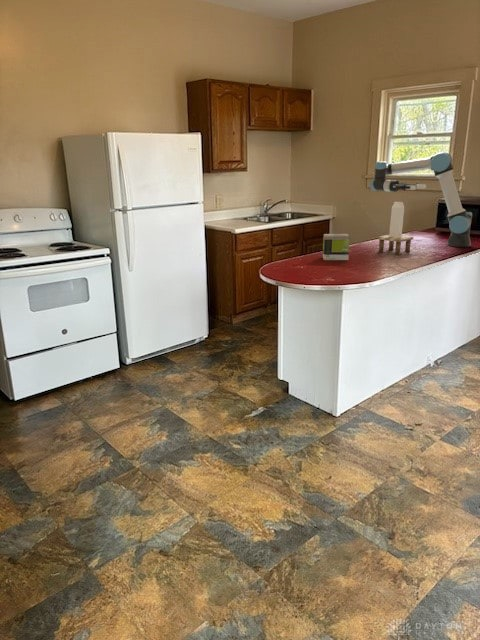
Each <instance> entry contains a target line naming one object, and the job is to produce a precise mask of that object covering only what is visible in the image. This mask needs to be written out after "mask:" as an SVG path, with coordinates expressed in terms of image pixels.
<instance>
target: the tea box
mask: <svg viewBox="0 0 480 640" xmlns="http://www.w3.org/2000/svg"><path fill="white" fill-rule="evenodd" d="M322 237H323V238H322V240H323V241H322V258H323V260H324V261H349V260H350V259H349V257H350V256H349V255H350V238H351V237H350V235H349V234H348V233H324V234H323V236H322Z"/></svg>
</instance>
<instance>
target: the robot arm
mask: <svg viewBox="0 0 480 640" xmlns="http://www.w3.org/2000/svg"><path fill="white" fill-rule="evenodd" d="M452 157H453V156H452V155H451V154H450V153H448V152H446V151H445V152H444V151H441V152H437V153H436V154H434V155H430V156H429V157H425V158H417V159H412V160H406V161H399V162H392V163H387V161H376V162H375V165H374V166H375V167H374V168H375V169H374V177H373V179H372V180H371V181H370V183H369V188H370V190H371V191H376V192H378V191H379V192H387V193H389V192H393V193H394V192H395V193H396V192H398V191H399V190H403V191H406V190H408V191H409V190H410V191H415V190H416V189H419V190H421V189H422V190H426V189H427V184H421V183H420V184H419V183H417V182H416V183H403V182H400V181H399V180H398V179H397V180H395V179H386V178H387V177H386V176H388V175H389V176H390V175H398V174H403V173H411V172H417V171H419V172H420V171H425V170H431V171H433V173H434V174H433V175H434V176H435V178H437V179H438V181H439V184H440V187H441V191H442V195H443V198H444V202H445V205H446V207H447V211H448V214H447V215H446V216H447V219H448V223H449V225H448V227H449V229H450V235H449V238H448V239H447V241H446V246H450V247H454V248H455V247H456V248H457V247H458V248H468V247H471V238H470V237H471V236H470V231H471V224H472V218H473V213H472V212H471V211H467V210H466V209H465V208H463V206H462V202H461V199H460V196H459V192H458V189H457V188H458V187H457V185H456V182H455V179H454V175H453V172H454V171H455V170H454V165H453V158H452Z"/></svg>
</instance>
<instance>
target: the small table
mask: <svg viewBox="0 0 480 640" xmlns="http://www.w3.org/2000/svg"><path fill="white" fill-rule="evenodd" d="M377 240H379V243H378V252H377V253H384V248H385V247H384V246H385V241H389V242H388V250H389V251H394V255H395V256H400V255H401V249H402V248H401V245H402V243H403V242H405V246H404V247H405V248H404V253H405V252H406V254H407V253H409V252H411V244H412V243H411V242H412V240H414V236H409V235H408V236H407V235H402V236H401V237H399V238H394V237H389V234H385V235H384V234H383V235H380V236H377ZM394 245H395V249H394ZM409 254H410V253H409Z"/></svg>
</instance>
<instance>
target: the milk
mask: <svg viewBox="0 0 480 640" xmlns="http://www.w3.org/2000/svg"><path fill="white" fill-rule="evenodd" d="M404 215H405V205H404V202H403V201H393V205H392V206H391V212H390V222H389V233H388V235H389V237H394V238H399V237H401V236H403V235H402V234H403V226H404V225H403V224H404Z"/></svg>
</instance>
